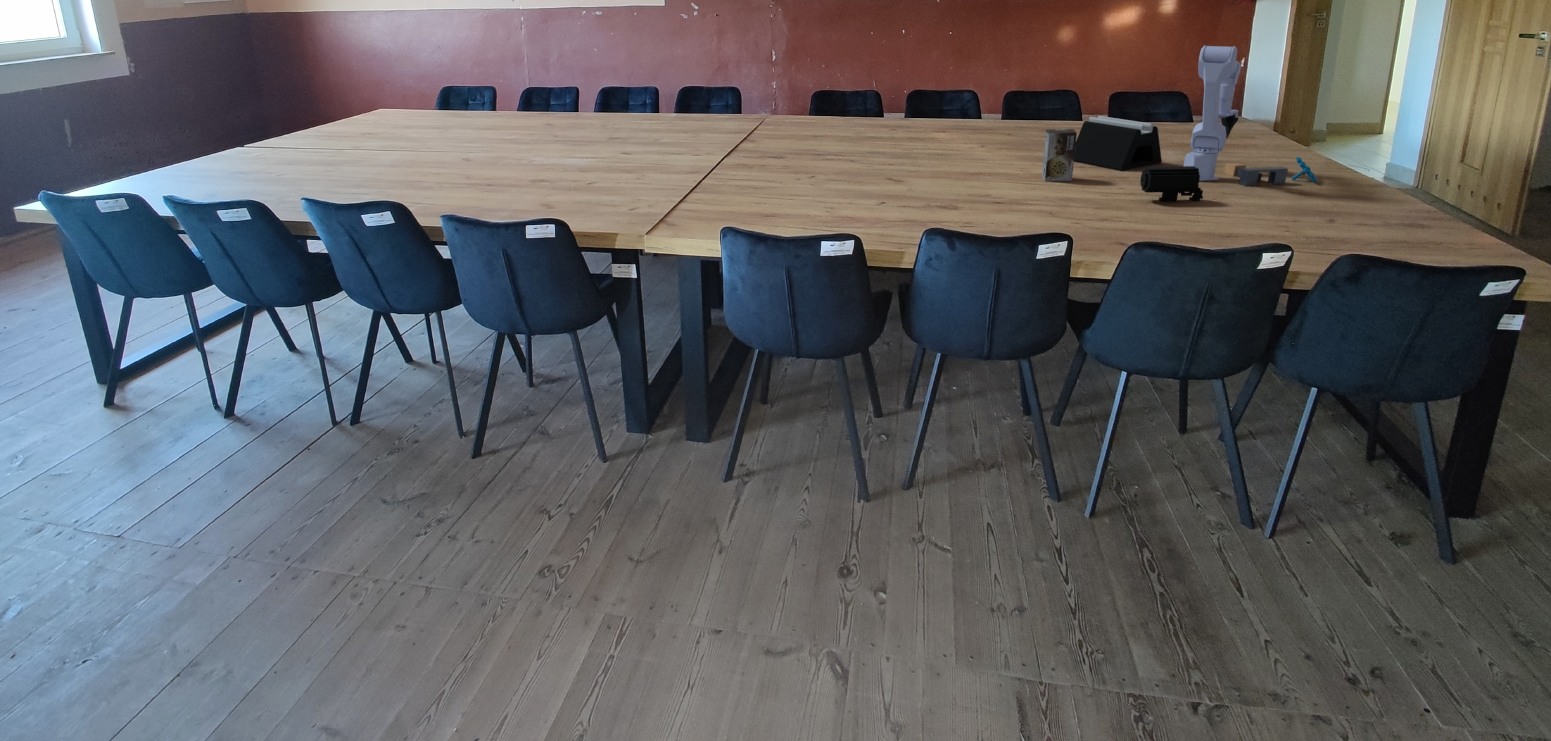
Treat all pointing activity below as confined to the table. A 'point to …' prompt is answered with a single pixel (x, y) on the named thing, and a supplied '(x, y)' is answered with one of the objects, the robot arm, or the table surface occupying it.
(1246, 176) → the housing
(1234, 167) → the plug
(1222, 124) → the robot arm
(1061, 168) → the coffee box
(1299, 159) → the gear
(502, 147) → the table surface
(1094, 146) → the device stand
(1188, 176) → the security camera
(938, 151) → the table surface
